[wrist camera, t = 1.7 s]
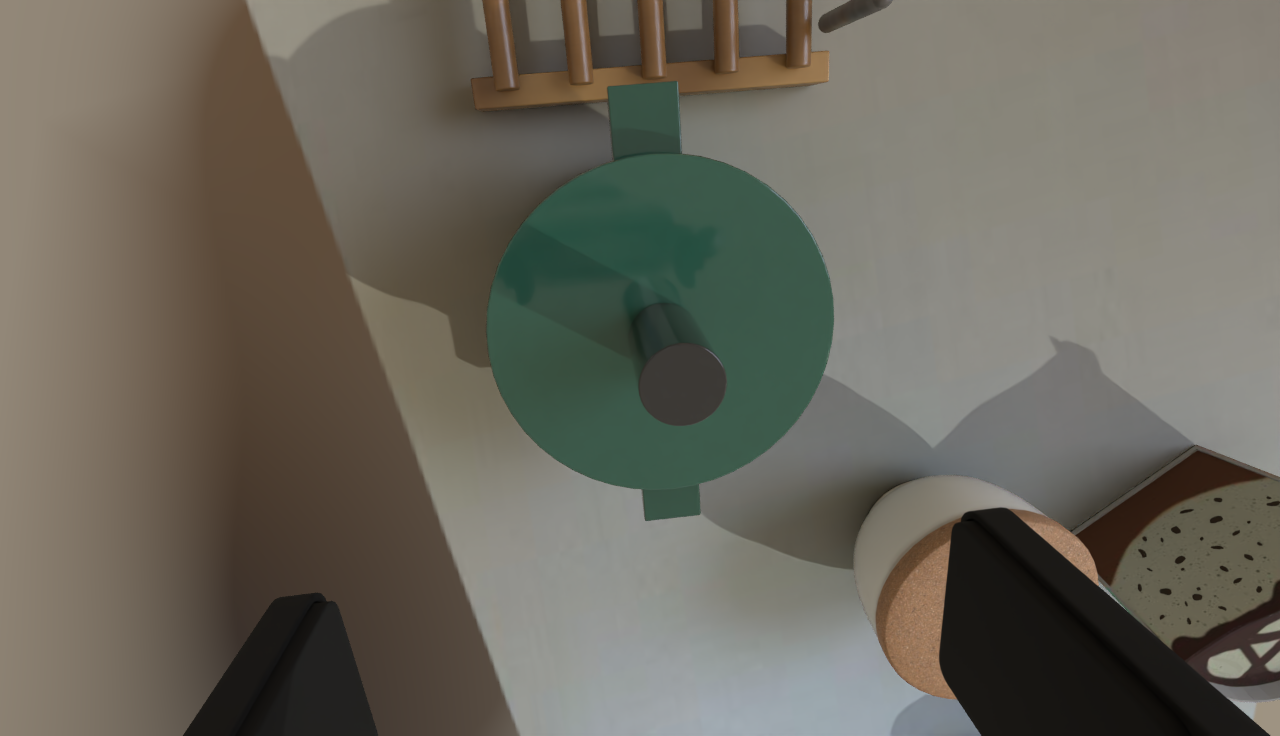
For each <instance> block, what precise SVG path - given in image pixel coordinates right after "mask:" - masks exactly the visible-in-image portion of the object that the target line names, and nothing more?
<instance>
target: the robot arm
mask: <svg viewBox="0 0 1280 736" xmlns="http://www.w3.org/2000/svg"><path fill="white" fill-rule="evenodd" d="M939 664H940V668H941V672H942V675H943V677H944V679H945V681H946V683H947V685H948V686H949V688H950V689H951V691H952V692H953V694H954V695H955V697H956V698H957V700H958V701H959V703H960V704H961V706H962V707H963V709H964V710H965V712H966V713H967V715H968V716H969V718H970V719H971V721H972V722H973V724H974V725H975V727H976V728H977V730H978V731H979V733H980V734H981V736H1270V735H1269V734H1268V733H1267V732H1266V731H1265V730H1263V729H1262V728H1261V727H1260V726H1259V725H1258V724H1256V723H1255V722H1254V721H1253V720H1252V719H1251V718H1250V717H1248V716H1247V715H1246V714H1245V713H1244V712H1243V711H1241V710H1240V709H1239V708H1238V707H1237V706H1236V705H1235V704H1233V703H1232V702H1231V701H1230V700H1229V699H1228V698H1227V697H1225V696H1224V695H1223V694H1222V693H1221V692H1220V691H1218V690H1217V689H1216V688H1215V687H1214V686H1213V685H1212V684H1210V683H1209V682H1208V681H1207V680H1206V679H1205V678H1203V677H1202V676H1201V675H1200V674H1199V673H1198V672H1197V671H1195V670H1194V669H1193V668H1192V667H1191V666H1190V665H1188V664H1187V663H1186V662H1185V661H1184V660H1183V659H1182V658H1180V657H1179V656H1178V655H1177V654H1176V653H1175V652H1174V651H1172V650H1171V649H1170V648H1169V647H1168V646H1167V645H1165V644H1164V643H1163V642H1162V641H1161V640H1160V639H1159V638H1157V637H1156V636H1155V635H1154V634H1153V633H1152V632H1150V631H1149V630H1148V629H1147V628H1146V627H1145V626H1144V625H1142V624H1141V623H1140V622H1139V621H1138V620H1137V619H1136V618H1134V617H1133V616H1132V615H1131V614H1130V613H1129V612H1127V611H1126V610H1125V609H1124V608H1123V607H1122V606H1121V605H1119V604H1118V603H1117V602H1116V601H1115V600H1114V599H1112V598H1111V597H1110V596H1109V595H1108V594H1107V593H1106V592H1104V591H1103V590H1102V589H1101V588H1100V587H1099V586H1098V585H1096V584H1095V583H1094V582H1093V581H1092V580H1091V579H1089V578H1088V577H1087V576H1086V575H1085V574H1084V573H1083V572H1081V571H1080V570H1079V569H1078V568H1077V567H1076V566H1074V565H1073V564H1072V563H1071V562H1070V561H1069V560H1068V559H1066V558H1065V557H1064V556H1063V555H1062V554H1061V553H1059V552H1058V551H1057V550H1056V549H1055V548H1054V547H1053V546H1051V545H1050V544H1049V543H1048V542H1047V541H1046V540H1045V539H1043V538H1042V537H1041V536H1040V535H1039V534H1038V533H1036V532H1035V531H1034V530H1033V529H1032V528H1031V527H1030V526H1028V525H1027V524H1026V523H1025V522H1024V521H1023V520H1021V519H1020V518H1019V517H1018V516H1017V515H1016V514H1015V513H1013V512H1012V511H1011V510H1009V509H1008V508H1003V507H999V508H991V509H983V510H975V511H968V512H966V513H964V514H963V516H962V518H961V522H958V523H955V524H954V526H953V527H952V532H951V542H950V551H949V561H948V571H947V581H946V591H945V601H944V610H943V620H942V630H941V640H940V650H939ZM183 736H378V734H377V730H376V726H375V723H374V720H373V717H372V713H371V710H370V707H369V704H368V701H367V697H366V694H365V691H364V688H363V685H362V681H361V678H360V675H359V672H358V669H357V665H356V662H355V659H354V656H353V652H352V649H351V646H350V643H349V640H348V636H347V633H346V630H345V627H344V624H343V620H342V617H341V614H340V611H339V608H338V606H337V604H336V603H335V602H333V601H330V602H327V601H326V599H325V597H324V596H323V595H322V594H321V593H311V594H302V595H294V596H286V597H280V598H277V599H275V600H274V601H273V602H272V603H271V605H270V606H269V608H268V609H267V611H266V612H265V614H264V615H263V616H262V618H261V620H260V621H259V622H258V624H257V626H256V627H255V628H254V630H253V632H252V633H251V635H250V636H249V637H248V639H247V641H246V642H245V644H244V645H243V646H242V648H241V650H240V651H239V652H238V654H237V656H236V657H235V658H234V660H233V661H232V663H231V665H230V666H229V667H228V669H227V670H226V672H225V673H224V675H223V676H222V678H221V680H220V681H219V683H218V684H217V686H216V687H215V688H214V690H213V692H212V693H211V694H210V696H209V697H208V699H207V700H206V702H205V704H204V705H203V706H202V708H201V710H200V711H199V713H198V714H197V715H196V717H195V719H194V720H193V721H192V723H191V724H190V726H189V728H188V729H187V730H186V732H185V733H184V735H183Z"/></svg>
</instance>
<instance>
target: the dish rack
mask: <svg viewBox="0 0 1280 736" xmlns="http://www.w3.org/2000/svg"><path fill="white" fill-rule="evenodd" d="M482 1H483V8H484V15H485V22H486V29H487V36H488V43H489V50H490V57H491V64H492V71H493V77H481V78H472V79H471V84H472V91H473V97H474V104H475V109H476V110H480V111H483V112H485V111H497V110H510V109H522V108H535V107H547V106H560V105H572V104H585V103H597V102H607V94H606V89H607V87H608V86H617V85H629V84H642V83H655V82H667V81H678V88H679V96H685V95H697V94H710V93H722V92H735V91H747V90H760V89H772V88H785V87H797V86H810V85H816V84H820V83H824V82H828V81H829V51H817V52H811V33H812V0H786V54H779V55H766V56H753V57H740V58H739V28H738V0H713V30H714V60H701V61H688V62H675V63H666V49H665V32H664V14H663V0H637V4H638V18H639V32H640V47H641V61H642V65H636V66H623V67H610V68H597V69H593V66H592V56H591V45H590V34H589V24H588V13H587V2H586V0H561V9H562V18H563V28H564V37H565V47H566V56H567V65H568V71H559V72H546V73H533V74H520V75H518V67H517V60H516V52H515V44H514V37H513V29H512V22H511V14H510V6H509V0H482ZM891 2H892V0H851V1H849V2H847V3H845V4H843V5H841V6H839V7H837V8H835V9H833V10H831V11H829V12H828V13H826V14H824V15H822V16H821V18H820V19H819V22H818V26H819V29H820V30H821V31H822V32H824V33H829V32H831V31H834V30H836V29H838V28H840V27H843V26H845V25H847V24H850V23H852V22H854V21H856V20H859V19H861V18H863V17H866V16H868V15H870V14H873V13H875V12H877V11H879V10H882V9H884V8H886V7H888V6H889V5H890V4H891Z"/></svg>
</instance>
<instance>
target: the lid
mask: <svg viewBox="0 0 1280 736" xmlns="http://www.w3.org/2000/svg"><path fill="white" fill-rule="evenodd" d="M833 325H834V307H833V294H832V289H831V283H830V277H829V274H828V271H827V268H826V265H825V261H824V258H823V255H822V253H821V251H820V249H819V247H818V245H817V243H816V241H815V239H814V237H813V235H812V233H811V232H810V230H809V229H808V228H807V226H806V225H805V223H804V222H803V220H802V219H801V217H800V216H799V215H798V214H797V213H796V211H795V210H794V209H793V208H792V207H791V206H790V205H789V204H788V203H787V202H786V200H785V199H783V198H782V197H781V196H780V195H779V194H777V193H776V192H775V191H774V190H773V189H771V188H770V187H769V186H768V185H767V184H765V183H763V182H762V181H760V180H758V179H757V178H755V177H753V176H752V175H750V174H749V173H747V172H745V171H743V170H740V169H738V168H736V167H733V166H731V165H729V164H726V163H724V162H720V161H716V160H713V159H709V158H705V157H702V156H695V155H687V154H679V153H648V154H641V155H635V156H628V157H624V158H620V159H617V160H614V161H610V162H607V163H604V164H601V165H599V166H596V167H594V168H592V169H590V170H588V171H585V172H583V173H581V174H579V175H577V176H576V177H574V178H573V179H571V180H570V181H568V182H566V183H565V184H563V185H562V186H560V187H558V188H557V189H556V190H555V191H554V192H553V193H551V194H550V195H549V196H548V197H547V198H545V199H544V200H543V201H542V202H541V203H540V204H539V205H538V206H537V207H536V208H535V209H534V210H533V211H532V213H531V214H530V215H529V216H528V217H527V218H526V219H525V220H524V222H523V223H522V224H521V226H520V227H519V229H518V230H517V232H516V233H515V235H514V236H513V238H512V239H511V241H510V242H509V244H508V246H507V248H506V250H505V252H504V254H503V256H502V258H501V260H500V262H499V264H498V267H497V270H496V273H495V276H494V279H493V282H492V285H491V290H490V295H489V301H488V306H487V321H486V337H487V347H488V355H489V359H490V364H491V368H492V372H493V376H494V378H495V381H496V384H497V386H498V389H499V391H500V394H501V396H502V398H503V400H504V402H505V403H506V405H507V407H508V409H509V410H510V412H511V414H512V415H513V417H514V418H515V420H516V421H517V422H518V424H519V425H520V426H521V428H522V429H523V430H524V432H525V433H526V434H527V435H528V436H529V437H530V438H531V439H532V440H533V441H534V442H535V443H536V444H537V445H538V446H539V447H540V448H542V449H543V450H544V451H545V452H547V453H548V454H549V455H551V456H552V457H553V458H554V459H556V460H557V461H559V462H560V463H562V464H564V465H565V466H567V467H569V468H570V469H572V470H574V471H576V472H578V473H581V474H583V475H585V476H587V477H590V478H592V479H595V480H598V481H601V482H604V483H608V484H611V485H616V486H621V487H627V488H632V489H648V490H660V489H675V488H681V487H687V486H693V485H697V484H701V483H704V482H707V481H711V480H714V479H717V478H719V477H722V476H724V475H726V474H729V473H731V472H734V471H735V470H737V469H739V468H741V467H743V466H744V465H746V464H748V463H750V462H752V461H753V460H754V459H756V458H757V457H759V456H760V455H761V454H763V453H764V452H766V451H767V450H768V449H770V448H771V447H772V446H773V445H774V444H775V443H776V442H777V441H778V440H779V439H781V438H782V437H783V436H784V435H785V434H786V433H787V431H788V430H789V429H790V428H791V427H792V426H793V425H794V423H795V422H796V421H797V420H798V419H799V417H800V416H801V414H802V413H803V411H804V410H805V408H806V407H807V405H808V404H809V402H810V401H811V399H812V397H813V395H814V393H815V391H816V389H817V387H818V385H819V383H820V381H821V378H822V375H823V373H824V370H825V367H826V364H827V361H828V357H829V352H830V348H831V344H832V336H833Z"/></svg>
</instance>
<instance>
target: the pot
mask: <svg viewBox="0 0 1280 736" xmlns="http://www.w3.org/2000/svg"><path fill="white" fill-rule="evenodd" d="M606 94H607V105H608V117H609V128H610V139H611V151H612V161H614V160H617V159H620V158H624V157H628V156H635V155H641V154H648V153H679V154H682V145H681V126H680V107H679V88H678V81H667V82H655V83H642V84H629V85H617V86H608V87H607V89H606ZM641 491H642V502H643V511H644V517H645V521H651V520H659V519H668V518H677V517H686V516H695V515H700V513H701V511H700V492H699V484H697V485H693V486H687V487H681V488H675V489H660V490H648V489H641Z"/></svg>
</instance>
